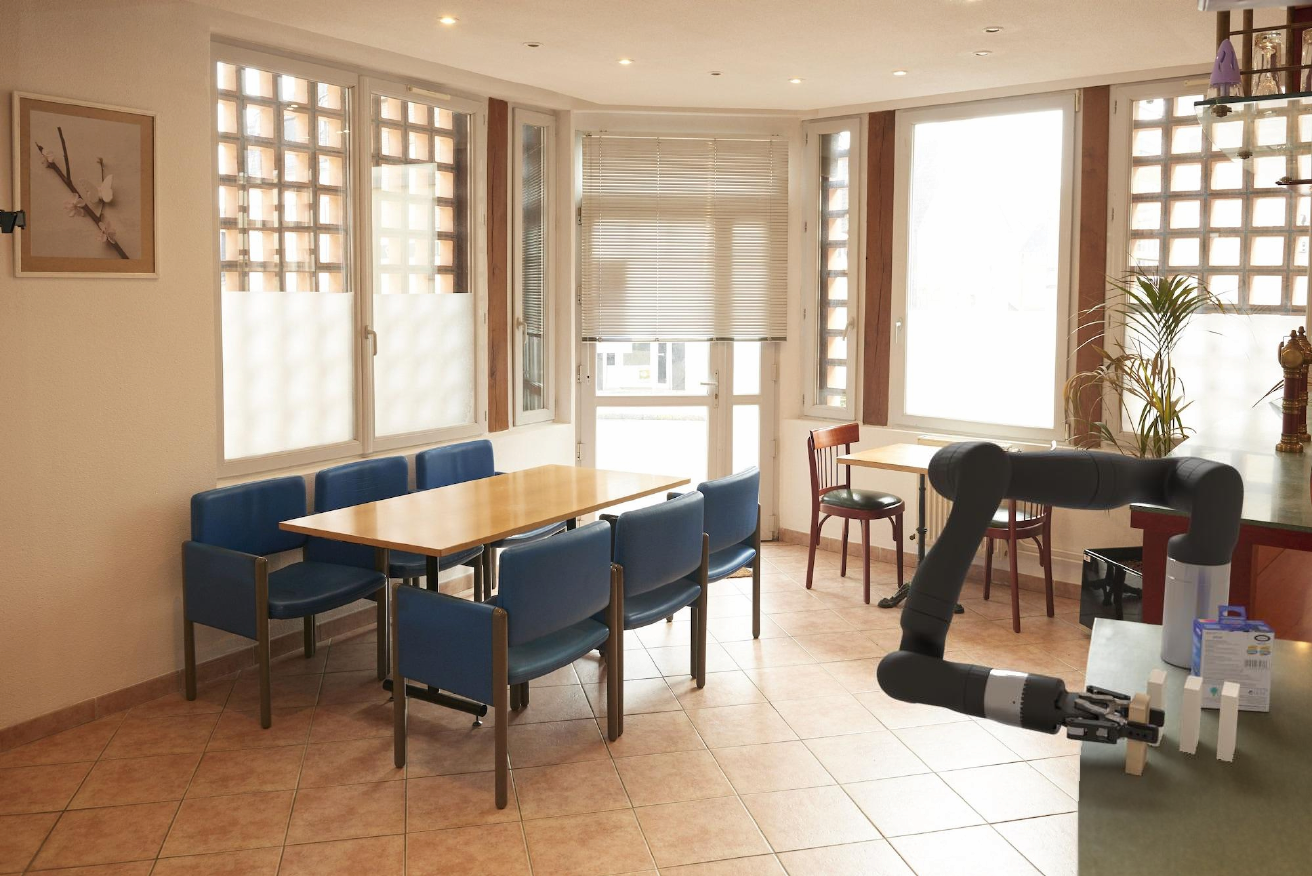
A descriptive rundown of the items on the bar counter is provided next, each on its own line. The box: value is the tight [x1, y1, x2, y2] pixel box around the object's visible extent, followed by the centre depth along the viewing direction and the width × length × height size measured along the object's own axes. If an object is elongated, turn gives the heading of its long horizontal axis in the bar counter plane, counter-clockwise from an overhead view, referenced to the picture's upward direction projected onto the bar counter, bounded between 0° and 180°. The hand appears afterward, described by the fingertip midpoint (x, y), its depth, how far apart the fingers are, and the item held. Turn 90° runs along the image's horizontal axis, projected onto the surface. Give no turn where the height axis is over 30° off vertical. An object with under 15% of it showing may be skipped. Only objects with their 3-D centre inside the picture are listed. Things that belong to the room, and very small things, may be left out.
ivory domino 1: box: [1146, 668, 1168, 747], centre depth 146 cm, size 5×2×9 cm, turn 148°
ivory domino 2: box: [1179, 674, 1203, 755], centre depth 144 cm, size 5×2×9 cm, turn 148°
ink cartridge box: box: [1190, 605, 1276, 713], centre depth 157 cm, size 10×6×14 cm, turn 78°
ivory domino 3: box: [1216, 681, 1240, 763], centre depth 142 cm, size 5×2×9 cm, turn 148°
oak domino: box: [1125, 692, 1150, 777], centre depth 138 cm, size 5×2×9 cm, turn 148°
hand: (1160, 726), depth 137 cm, fingers closed on oak domino, 5 cm apart
